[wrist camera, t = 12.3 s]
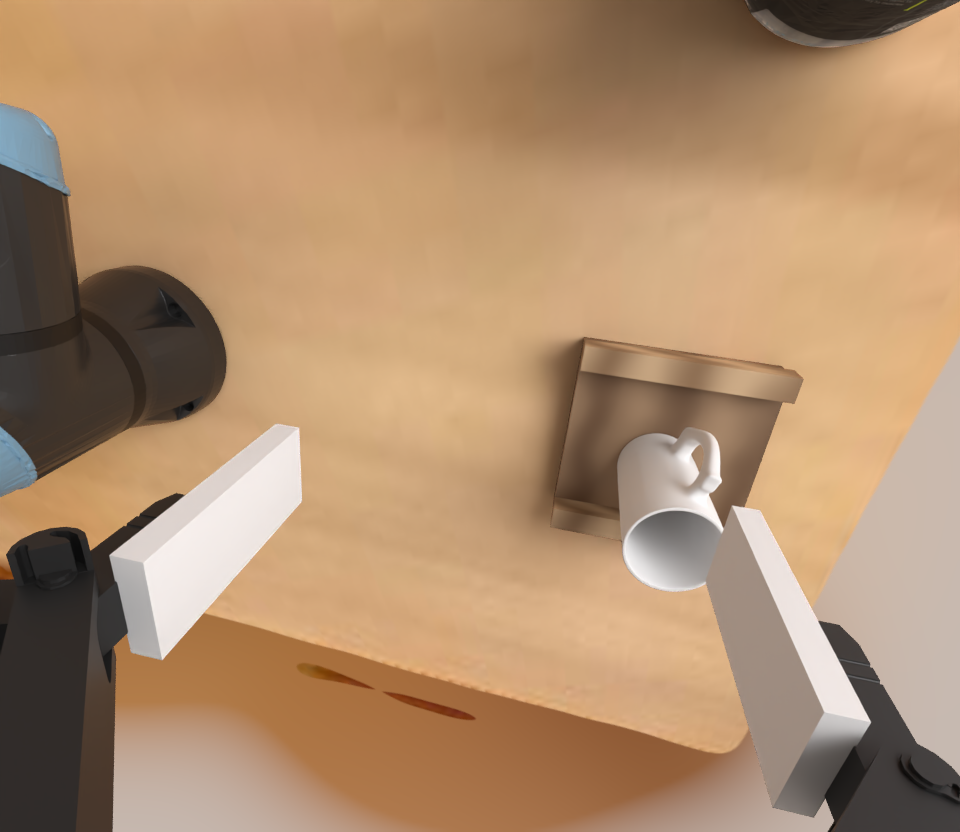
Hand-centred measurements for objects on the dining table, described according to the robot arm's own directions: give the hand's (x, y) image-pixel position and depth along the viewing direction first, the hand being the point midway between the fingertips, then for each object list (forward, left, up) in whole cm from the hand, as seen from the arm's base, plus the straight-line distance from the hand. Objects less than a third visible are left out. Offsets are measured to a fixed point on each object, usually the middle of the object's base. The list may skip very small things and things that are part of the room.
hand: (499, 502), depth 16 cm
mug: (+11, -11, -29) cm, 33 cm away
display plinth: (+11, -11, -32) cm, 35 cm away
